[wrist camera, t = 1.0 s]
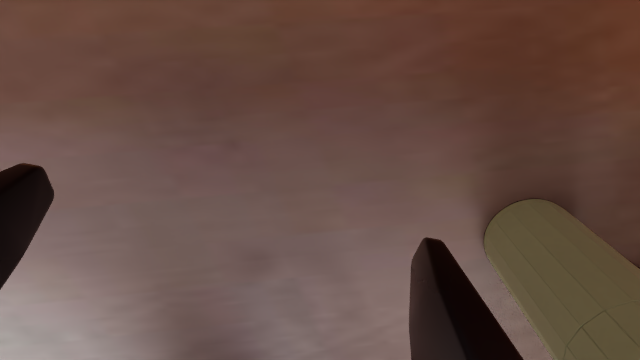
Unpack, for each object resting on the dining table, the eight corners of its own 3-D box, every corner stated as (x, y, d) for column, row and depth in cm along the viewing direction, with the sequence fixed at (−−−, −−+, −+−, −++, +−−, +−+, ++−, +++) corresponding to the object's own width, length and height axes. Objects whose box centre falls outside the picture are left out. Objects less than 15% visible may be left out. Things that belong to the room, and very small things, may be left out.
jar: (520, 287, 29) (652, 474, 17) (465, 239, 27) (565, 405, 15) (589, 234, 27) (794, 402, 15) (535, 181, 26) (709, 317, 14)
